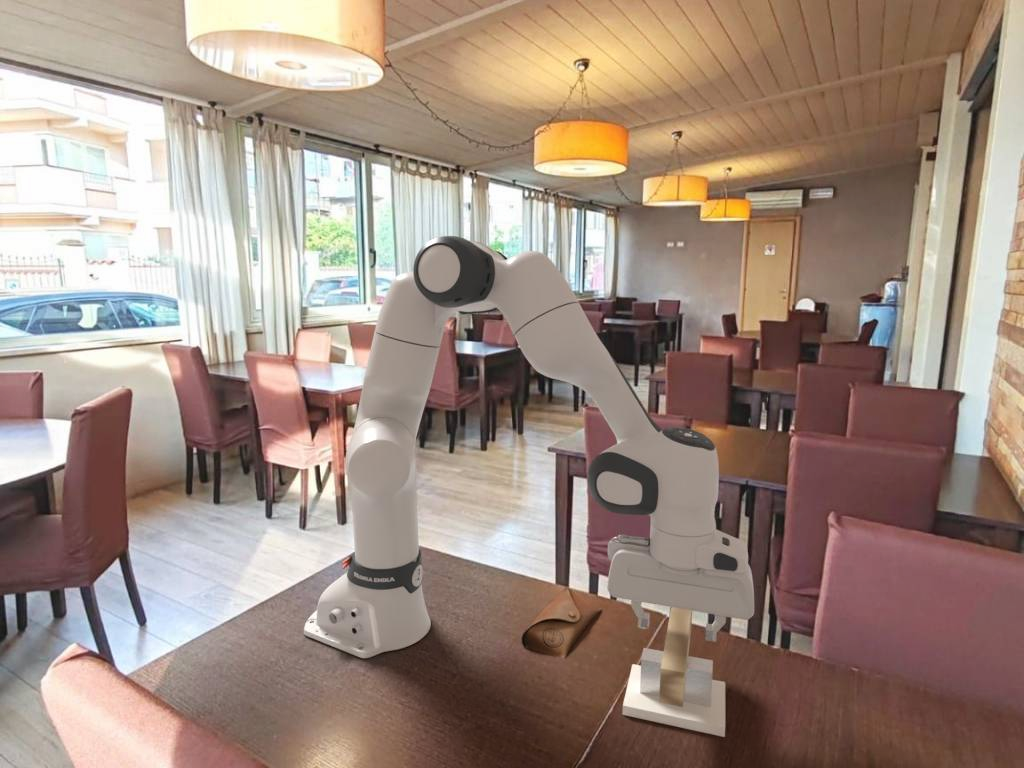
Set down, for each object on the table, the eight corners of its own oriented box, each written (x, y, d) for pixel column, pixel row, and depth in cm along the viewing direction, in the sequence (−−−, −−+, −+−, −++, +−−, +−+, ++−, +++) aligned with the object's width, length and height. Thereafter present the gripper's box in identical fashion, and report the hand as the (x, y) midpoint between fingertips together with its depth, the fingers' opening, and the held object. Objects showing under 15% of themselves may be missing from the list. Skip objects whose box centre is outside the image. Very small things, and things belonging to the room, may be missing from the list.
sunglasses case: (566, 660, 102) (548, 623, 102) (533, 669, 105) (515, 633, 106) (604, 608, 118) (587, 576, 118) (574, 617, 121) (558, 586, 122)
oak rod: (659, 702, 82) (660, 668, 81) (672, 621, 100) (673, 593, 100) (682, 707, 81) (684, 672, 80) (691, 625, 99) (692, 596, 99)
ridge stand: (622, 714, 90) (623, 671, 88) (632, 672, 99) (633, 632, 98) (724, 737, 85) (727, 691, 84) (724, 690, 94) (727, 649, 93)
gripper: (604, 541, 88) (601, 630, 90) (759, 564, 81) (751, 659, 84) (612, 524, 93) (609, 608, 96) (757, 544, 87) (749, 633, 89)
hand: (676, 632), depth 90 cm, fingers open, 8 cm apart
